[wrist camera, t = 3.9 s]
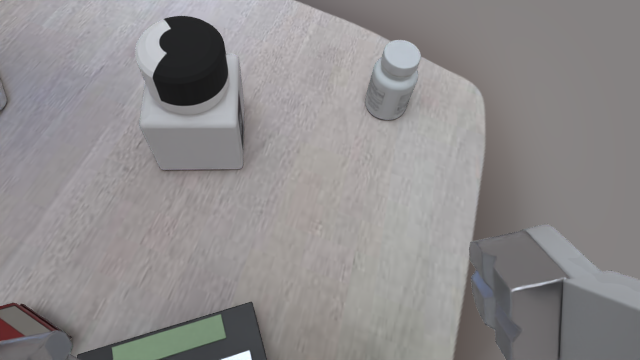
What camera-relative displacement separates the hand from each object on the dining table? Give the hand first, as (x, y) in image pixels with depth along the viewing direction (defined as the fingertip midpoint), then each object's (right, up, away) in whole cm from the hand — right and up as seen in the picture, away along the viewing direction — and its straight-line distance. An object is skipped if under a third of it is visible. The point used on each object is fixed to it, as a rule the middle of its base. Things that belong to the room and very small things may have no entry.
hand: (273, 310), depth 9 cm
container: (-11, +7, +36) cm, 38 cm away
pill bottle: (+8, +11, +40) cm, 42 cm away
